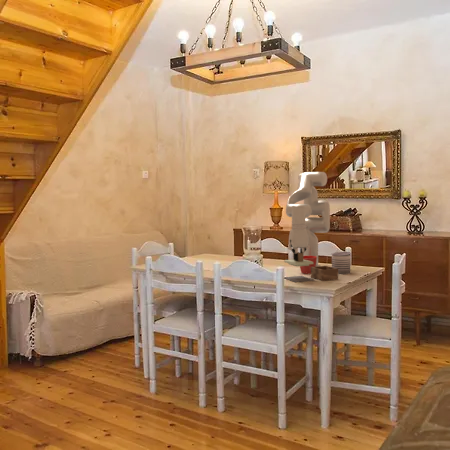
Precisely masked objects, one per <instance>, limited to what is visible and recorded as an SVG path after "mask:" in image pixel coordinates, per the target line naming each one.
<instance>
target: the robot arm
mask: <svg viewBox="0 0 450 450" xmlns="http://www.w3.org/2000/svg"><path fill="white" fill-rule="evenodd" d="M327 175H328V174H327V173H326V172H325V171H305V172H301V173H299V174H298V183H297V190H295V191H294V192H293V193H292V194H291V195H289V196H288V198H287V201H286V206H285V214H286V216H287V217H289V218H291V229H290V230H289V235H288V247H287V250H289V251H291V252H292V253H293V260H295V261H298V254H297V252H298V249H299V252H300V253H303V256H316V257H317V260H316V266H321V265H320V264H319V238H318V237H317V235H316V234H318V233H325V234H326V233H328V232H330V227H331V223H330V222H331V208H330V202H329V201H328V200H325V199H318V195H319V194H318V190H317V189H316V188H315V187H325V186H326V185H327V182H328V176H327ZM301 201H303V203H298V202H301ZM311 216H314V217H311ZM316 216H320V217H316ZM315 233H316V234H315Z"/></svg>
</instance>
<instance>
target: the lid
mask: <svg viewBox="0 0 450 450" xmlns="http://www.w3.org/2000/svg"><path fill="white" fill-rule="evenodd" d="M297 254H298V261H295V260H294V259H284V261H283V263H286V264H288V265H290V266H294V267H300V266H309V264H313V262H312V261H308V260H304V259H303V253H300V251H297Z"/></svg>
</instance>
